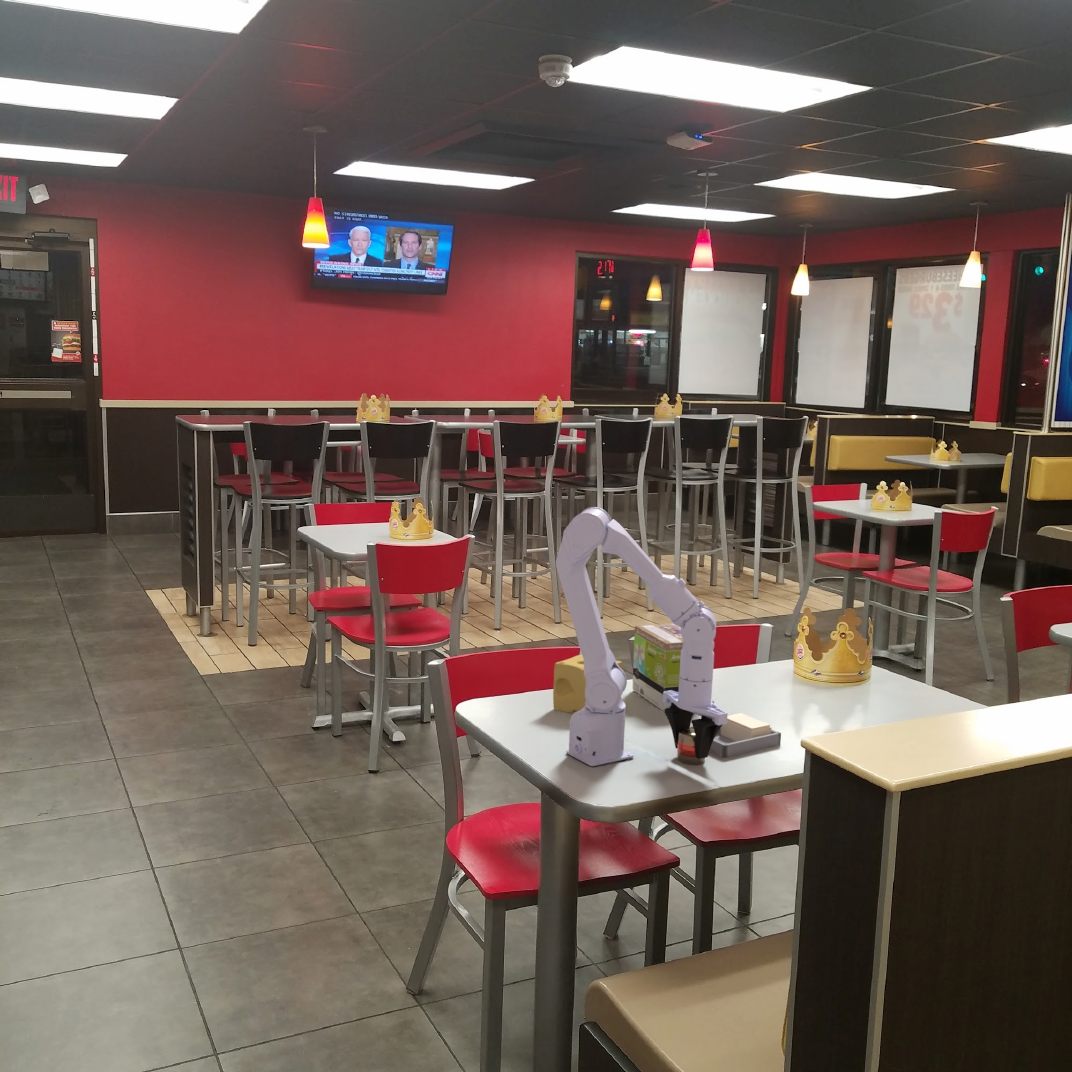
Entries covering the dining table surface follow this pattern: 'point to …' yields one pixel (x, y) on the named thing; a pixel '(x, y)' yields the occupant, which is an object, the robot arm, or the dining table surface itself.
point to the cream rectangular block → (744, 727)
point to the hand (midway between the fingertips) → (691, 752)
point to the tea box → (657, 661)
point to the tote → (742, 744)
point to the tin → (687, 748)
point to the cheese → (570, 684)
